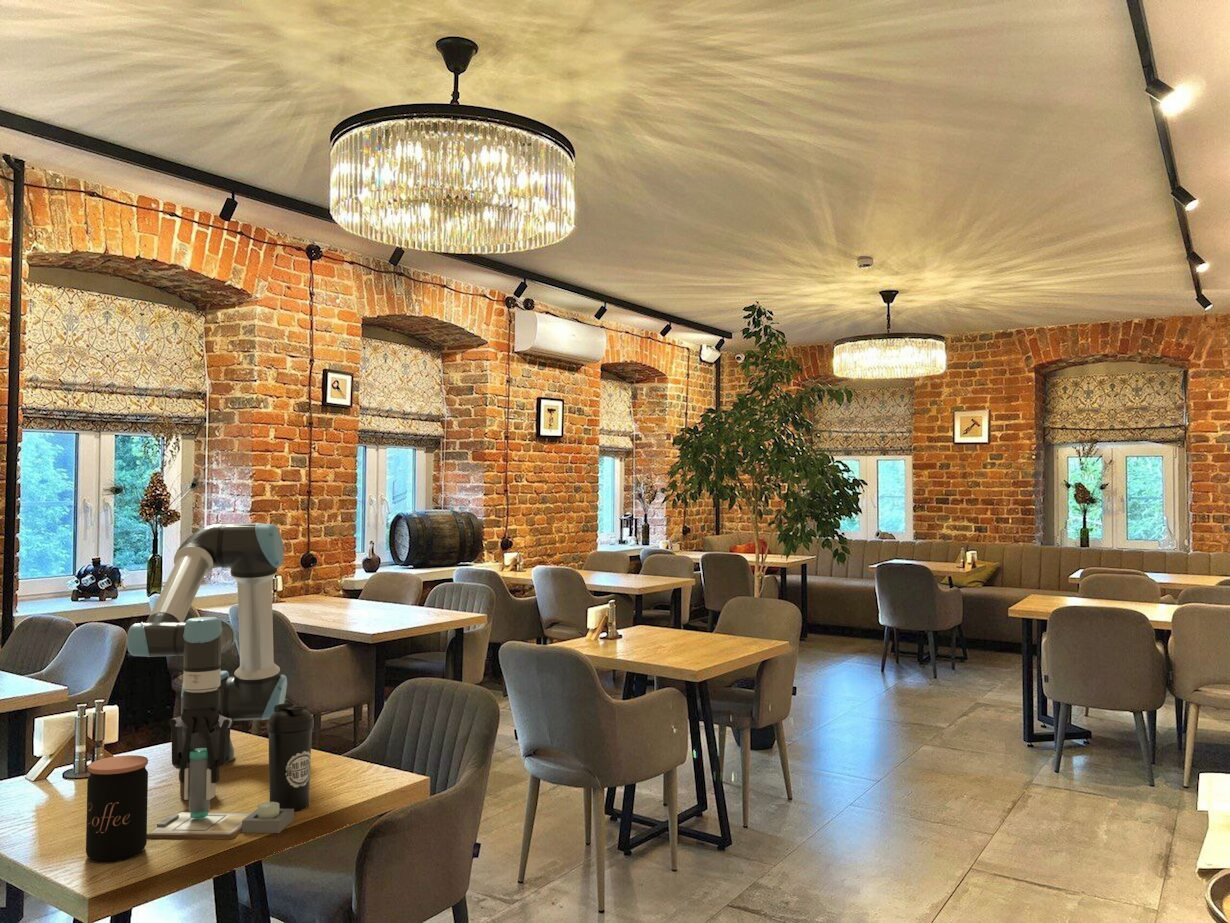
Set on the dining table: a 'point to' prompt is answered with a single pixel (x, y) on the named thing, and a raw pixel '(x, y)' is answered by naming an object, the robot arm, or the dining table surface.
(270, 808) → the button
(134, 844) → the coffee jar
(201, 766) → the marker
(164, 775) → the dining table surface
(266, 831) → the button housing
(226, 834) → the board
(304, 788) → the water bottle
